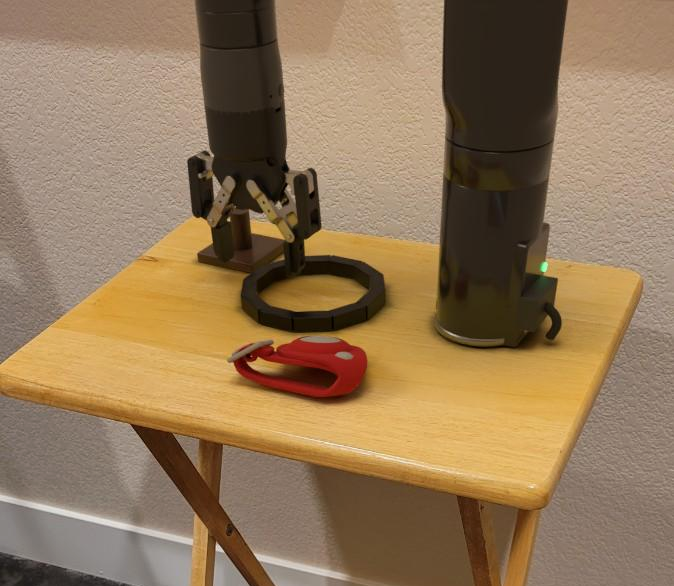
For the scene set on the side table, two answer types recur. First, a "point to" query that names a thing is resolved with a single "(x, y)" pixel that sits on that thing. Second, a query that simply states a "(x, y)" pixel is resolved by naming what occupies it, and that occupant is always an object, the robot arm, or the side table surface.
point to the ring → (314, 319)
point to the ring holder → (245, 246)
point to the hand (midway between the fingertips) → (259, 267)
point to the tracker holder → (306, 363)
